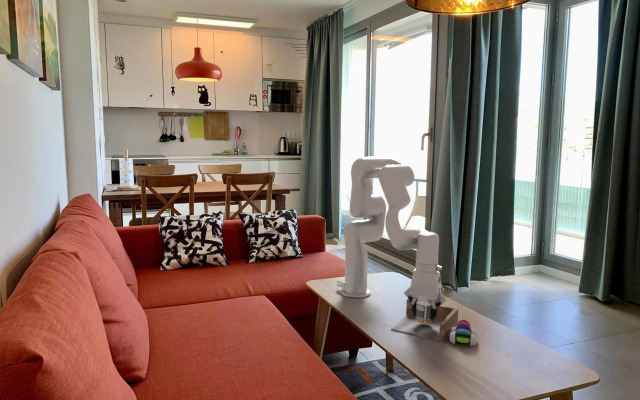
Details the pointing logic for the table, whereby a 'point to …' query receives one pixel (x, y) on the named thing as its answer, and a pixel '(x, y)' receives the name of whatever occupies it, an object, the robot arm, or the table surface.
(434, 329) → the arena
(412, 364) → the table surface
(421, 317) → the pill bottle
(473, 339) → the rainbow petal toy
